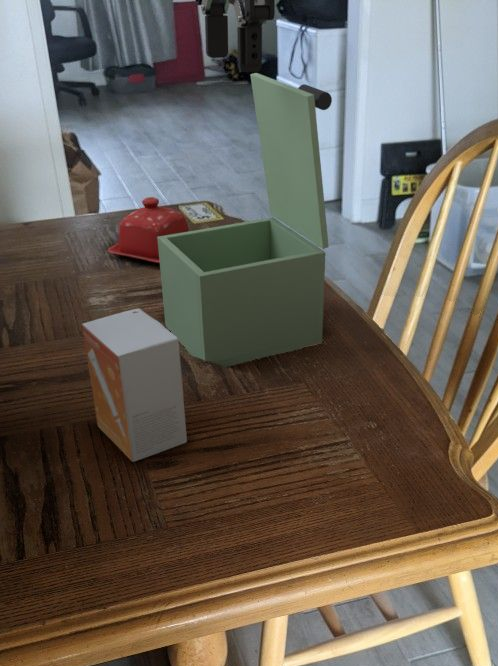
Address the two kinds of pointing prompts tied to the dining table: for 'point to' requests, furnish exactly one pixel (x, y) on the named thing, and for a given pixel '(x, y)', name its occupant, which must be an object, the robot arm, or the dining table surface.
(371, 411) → the dining table surface
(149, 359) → the small box
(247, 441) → the dining table surface
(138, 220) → the butter dish
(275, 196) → the lid
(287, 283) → the chest
